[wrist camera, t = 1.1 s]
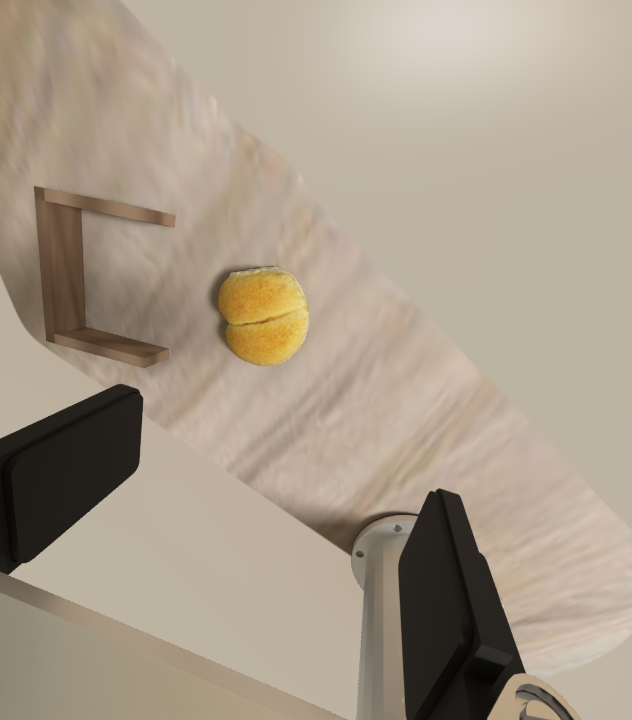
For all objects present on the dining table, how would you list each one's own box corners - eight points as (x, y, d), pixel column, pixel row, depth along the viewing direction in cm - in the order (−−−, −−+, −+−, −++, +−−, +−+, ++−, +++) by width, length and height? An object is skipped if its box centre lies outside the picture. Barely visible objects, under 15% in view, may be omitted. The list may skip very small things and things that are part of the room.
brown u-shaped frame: (175, 215, 29) (148, 209, 26) (168, 358, 34) (145, 368, 30) (71, 194, 31) (34, 185, 27) (78, 333, 35) (46, 341, 32)
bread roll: (238, 364, 32) (219, 377, 29) (220, 273, 30) (197, 274, 26) (317, 358, 31) (308, 371, 27) (304, 261, 28) (292, 260, 25)
